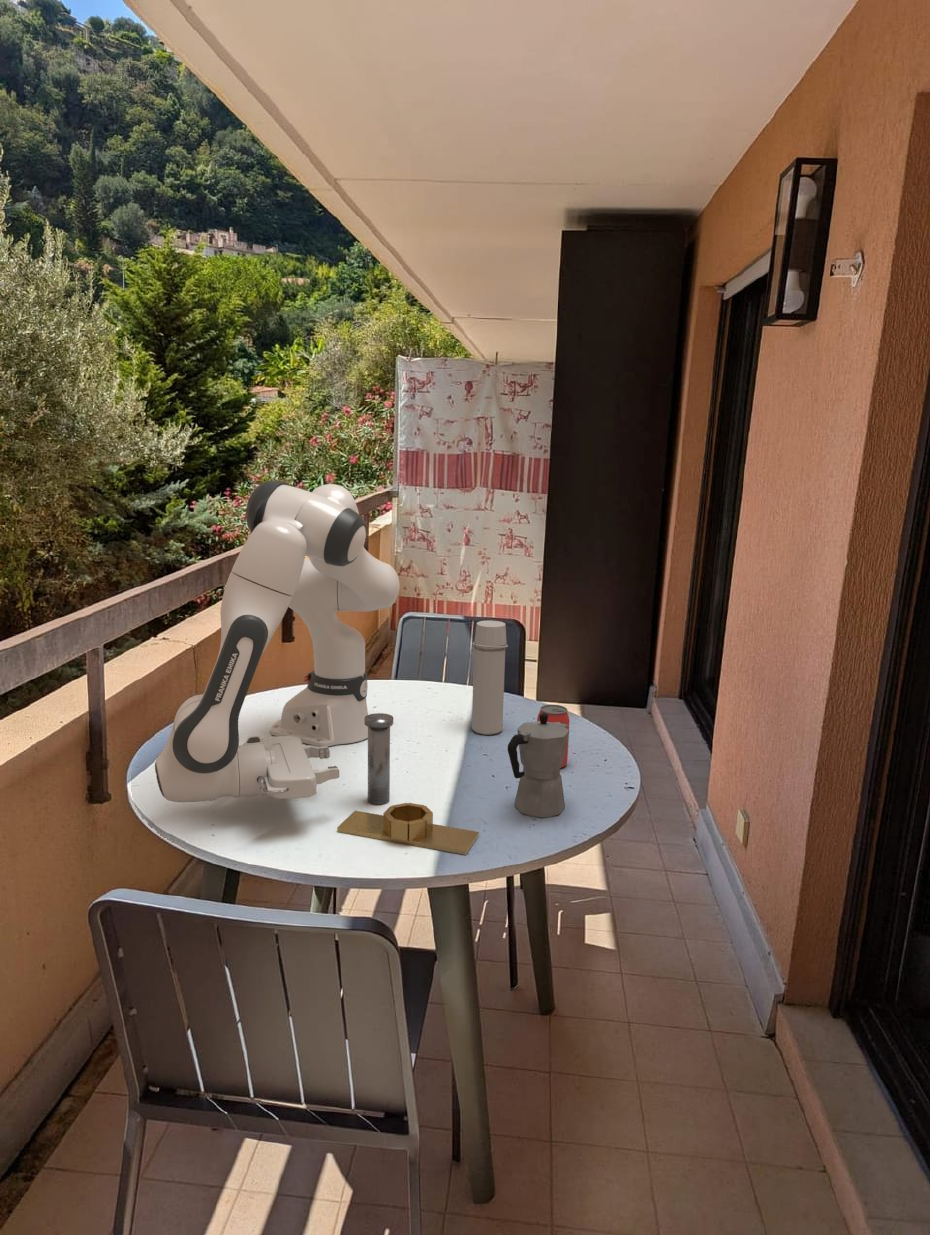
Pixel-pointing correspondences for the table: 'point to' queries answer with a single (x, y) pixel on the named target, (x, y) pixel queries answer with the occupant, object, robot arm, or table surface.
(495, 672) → the water bottle
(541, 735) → the coffeepot
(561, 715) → the beer can
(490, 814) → the table surface
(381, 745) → the pin
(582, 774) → the table surface
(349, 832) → the octagonal peg holder board
